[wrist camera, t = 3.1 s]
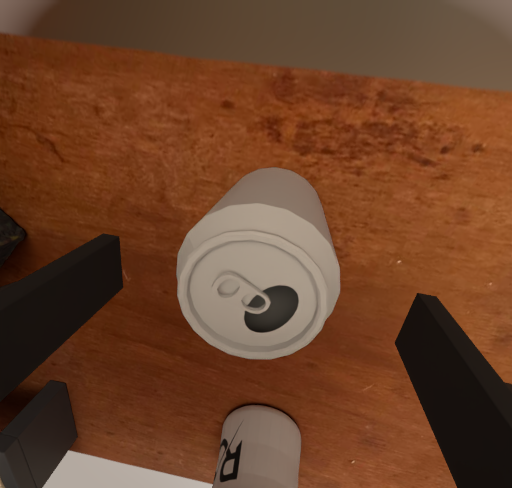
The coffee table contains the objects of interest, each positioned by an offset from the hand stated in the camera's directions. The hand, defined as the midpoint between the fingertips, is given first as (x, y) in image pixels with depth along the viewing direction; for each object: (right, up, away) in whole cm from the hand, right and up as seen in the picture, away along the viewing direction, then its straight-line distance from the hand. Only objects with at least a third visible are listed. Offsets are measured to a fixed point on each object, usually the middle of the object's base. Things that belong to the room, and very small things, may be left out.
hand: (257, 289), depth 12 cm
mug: (0, -21, +21) cm, 30 cm away
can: (+1, +4, +10) cm, 11 cm away
